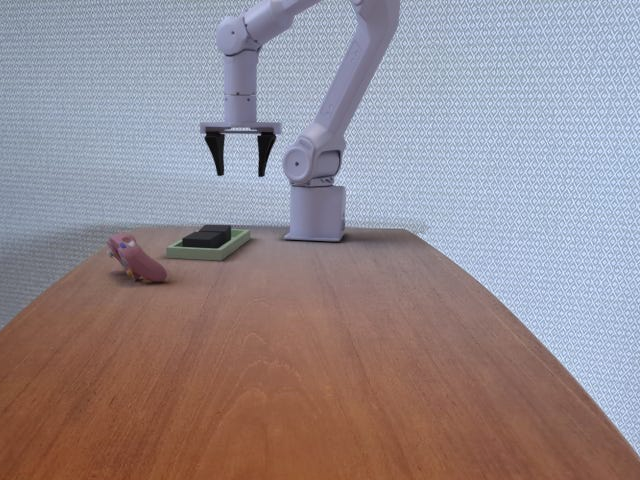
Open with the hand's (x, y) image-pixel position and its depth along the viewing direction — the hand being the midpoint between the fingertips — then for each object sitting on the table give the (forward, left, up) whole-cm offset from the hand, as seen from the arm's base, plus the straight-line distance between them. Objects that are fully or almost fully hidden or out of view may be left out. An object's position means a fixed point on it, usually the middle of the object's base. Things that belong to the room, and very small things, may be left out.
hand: (240, 176), depth 123 cm
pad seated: (0, +24, -9) cm, 25 cm away
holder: (0, +19, -9) cm, 21 cm away
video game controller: (+4, +40, -10) cm, 41 cm away
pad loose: (0, +17, -9) cm, 19 cm away
